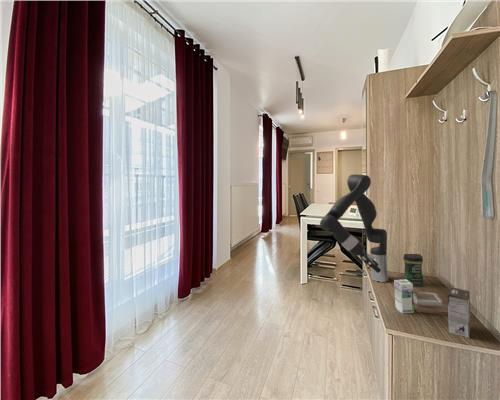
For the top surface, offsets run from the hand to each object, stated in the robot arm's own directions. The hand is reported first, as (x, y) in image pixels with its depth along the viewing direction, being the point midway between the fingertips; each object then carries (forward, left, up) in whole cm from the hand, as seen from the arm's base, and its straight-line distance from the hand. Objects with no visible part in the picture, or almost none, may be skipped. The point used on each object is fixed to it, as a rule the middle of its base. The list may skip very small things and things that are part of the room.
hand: (378, 268), depth 117 cm
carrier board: (-10, +23, -20) cm, 32 cm away
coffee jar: (-35, +23, -20) cm, 46 cm away
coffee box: (+12, +28, -20) cm, 36 cm away
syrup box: (0, +11, -20) cm, 23 cm away
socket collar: (-8, +22, -18) cm, 30 cm away
